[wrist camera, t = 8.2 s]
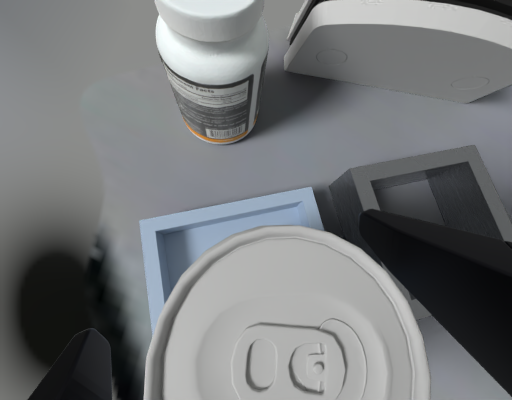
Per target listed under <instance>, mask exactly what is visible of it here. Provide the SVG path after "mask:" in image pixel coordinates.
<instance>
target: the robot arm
mask: <svg viewBox="0 0 512 400" xmlns="http://www.w3.org/2000/svg"><path fill="white" fill-rule="evenodd" d="M359 233H360V235H361V237H362V238H363V239H364V241H365V242H366V243H367V244H368V246H369V247H370V248H371V249H372V251H373V252H374V253H375V254H376V256H377V257H378V258H379V259H380V261H381V262H382V263H383V264H384V266H385V267H386V268H387V269H388V270H389V271H390V272H391V274H392V275H393V276H394V277H395V278H396V279H397V280H398V281H399V282H400V283H401V284H402V285H403V286H404V287H405V288H406V289H407V290H408V291H409V292H410V293H411V294H412V295H413V296H414V297H415V298H416V299H417V300H418V301H419V302H420V303H421V304H422V305H423V306H424V307H425V308H426V309H427V311H428V312H429V313H430V314H431V315H432V316H433V317H434V318H435V319H436V320H437V321H438V322H439V323H440V324H441V325H442V326H443V327H444V328H445V329H446V330H447V331H448V332H449V333H450V334H451V335H452V336H453V337H454V338H455V339H456V340H457V341H458V342H459V343H460V344H461V345H462V346H463V347H464V348H465V349H466V350H467V352H468V353H469V354H470V355H471V356H472V357H473V358H474V359H475V360H476V361H477V362H478V363H479V364H480V365H481V366H482V367H483V368H484V369H485V370H486V371H487V372H488V373H489V374H490V375H491V376H492V377H493V378H494V379H495V380H496V381H497V382H498V383H499V384H500V385H501V386H502V387H503V388H504V389H505V390H506V391H507V392H508V394H509V395H510V396H511V397H512V242H509V241H503V240H501V239H497V238H492V237H488V236H484V235H480V234H476V233H472V232H467V231H463V230H459V229H455V228H451V227H447V226H442V225H438V224H434V223H430V222H426V221H422V220H417V219H413V218H409V217H405V216H401V215H397V214H392V213H388V212H384V211H380V210H376V209H368V210H365V211H363V212H361V213H360V215H359ZM28 400H112V379H111V349H110V345H109V343H108V341H107V340H106V339H105V338H104V337H103V336H102V335H101V334H100V333H98V332H97V331H96V330H95V329H93V328H90V329H87V330H85V331H83V332H80V333H78V334H76V335H75V336H74V337H73V339H72V340H71V341H70V343H69V344H68V345H67V347H66V348H65V350H64V351H63V352H62V354H61V355H60V356H59V358H58V359H57V361H56V362H55V363H54V364H53V366H52V367H51V368H50V370H49V371H48V373H47V374H46V375H45V377H44V378H43V379H42V381H41V382H40V384H39V385H38V386H37V388H36V389H35V390H34V392H33V393H32V394H31V396H30V397H29V399H28Z"/></svg>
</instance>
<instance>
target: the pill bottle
mask: <svg viewBox="0 0 512 400" xmlns="http://www.w3.org/2000/svg"><path fill="white" fill-rule="evenodd" d="M154 1H155V4H156V7H157V10H158V12H159V17H158V20H157V24H156V42H157V49H158V52H159V55H160V58H161V60H162V63H163V65H164V68H165V70H166V73H167V75H168V78H169V81H170V84H171V87H172V90H173V92H174V95H175V98H176V101H177V104H178V106H179V108H180V111H181V114H182V116H183V119H184V121H185V123H186V125H187V127H188V128H189V130H190V131H191V132H192V133H193V134H194V135H195V136H196V137H198V138H199V139H201V140H203V141H206V142H208V143H212V144H230V143H233V142H236V141H238V140H240V139H242V138H244V137H245V136H246V135H247V134H248V133H249V132H250V131H251V130H252V128H253V127H254V125H255V122H256V119H257V115H258V111H259V104H260V97H261V91H262V85H263V79H264V73H265V67H266V61H267V54H268V48H269V36H268V29H267V25H266V22H265V20H264V18H263V16H262V12H263V8H264V0H154Z"/></svg>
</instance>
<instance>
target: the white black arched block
mask: <svg viewBox="0 0 512 400" xmlns="http://www.w3.org/2000/svg"><path fill="white" fill-rule="evenodd" d="M287 41H290V45H291V46H290V48H289V49H288V51H287V53H286V54H285V56H284V68H285V71H288V72H294V73H299V74H305V75H310V76H316V77H321V78H327V79H332V80H338V81H343V82H349V83H354V84H360V85H365V86H371V87H376V88H382V89H387V90H393V91H398V92H404V93H409V94H415V95H420V96H426V97H431V98H437V99H442V100H448V101H453V102H459V103H464V104H467V103H469V102H472V101H474V100H476V99H479V98H481V97H483V96H486V95H488V94H490V93H493V92H495V91H497V90H500V89H502V88H504V87H507V86H509V85H511V84H512V0H305V2H304V4H303V6H302V8H301V10H300V12H299V13H298V12H297V13H296V15H295V18H294V21H293V24H292V26H291V29H290V32H289V35H288V38H287Z"/></svg>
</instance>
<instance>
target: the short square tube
mask: <svg viewBox="0 0 512 400" xmlns="http://www.w3.org/2000/svg"><path fill="white" fill-rule="evenodd" d="M425 179H428V182H429V184H430V187H431V189H432V192H433V194H434V196H435V199H436V201H437V204H438V206H439V209H440V211H441V214H442V216H443V219H444V221H445V224H446V226H447V227H451V228H455V229H459V230H463V231H467V232H472V233H476V234H480V235H484V236H488V237H492V238H497V239H501V240H503V241H509V242H512V223H511V221H510V219H509V217H508V215H507V212H506V210H505V208H504V206H503V204H502V202H501V200H500V197H499V195H498V193H497V191H496V189H495V187H494V185H493V183H492V180H491V178H490V176H489V174H488V172H487V170H486V168H485V165H484V163H483V161H482V159H481V157H480V155H479V153H478V151H477V148H476V146H475V145H471V146H466V147H461V148H455V149H450V150H445V151H440V152H434V153H429V154H424V155H419V156H414V157H408V158H403V159H398V160H393V161H387V162H382V163H377V164H372V165H366V166H361V167H356V168H351V169H349V170H348V171H346V172H345V173H344V174H343V175H342V176H340V177H339V178H338V179H337V180H336V181H334V182H333V183H332V184H331V185H329V188H330V191H331V195H332V198H333V201H334V204H335V208H336V211H337V214H338V217H339V221H340V224H341V227H342V231H343V234H344V237H345V240H346V241H348V242H350V243H351V244H353V245H355V246H357V247H359V248H361V249H362V250H363V251H364V252H365V253H366V254H367V255H369V256H370V257H371V258H372V259H373V260H374V261H375V262H376V263H378V264H379V265H380V266H381V267H382V268H383V269H384V270H385V271H386V272H387V273H388V274H389V276H390V277H391V279H392V280H393V281H394V283H395V284H396V286H397V287H398V288H399V290H400V291H401V292H402V294H403V295H404V297H405V298H406V299H407V301H408V303H409V305H410V308H411V310H412V312H413V315H414V317H415V319H416V320H419V319H422V318H425V317H429V316H432V315H431V314H430V313H429V312H428V311H427V309H426V308H425V307H424V306H423V305H422V304H421V303H420V302H419V301H418V300H417V299H416V298H415V297H414V296H413V295H412V294H411V293H410V292H409V291H408V290H407V289H406V288H405V287H404V286H403V285H402V284H401V283H400V282H399V281H398V280H397V279H396V278H395V277H394V276H393V275H392V274H391V272H390V271H389V270H388V269H387V268H386V267H385V266H384V264H383V263H382V262H381V261H380V259H379V258H378V257H377V256H376V254H375V253H374V252H373V251H372V249H371V248H370V247H369V246H368V244H367V243H366V242H365V241H364V239H363V238H362V237H361V235H360V233H359V215H360V213H361V212H363V211H365V210H368V209H376V210H380V208H379V205H378V202H377V200H376V197H375V194H374V191H373V190H377V189H382V188H387V187H391V186H396V185H401V184H406V183H411V182H416V181H420V180H425Z"/></svg>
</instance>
